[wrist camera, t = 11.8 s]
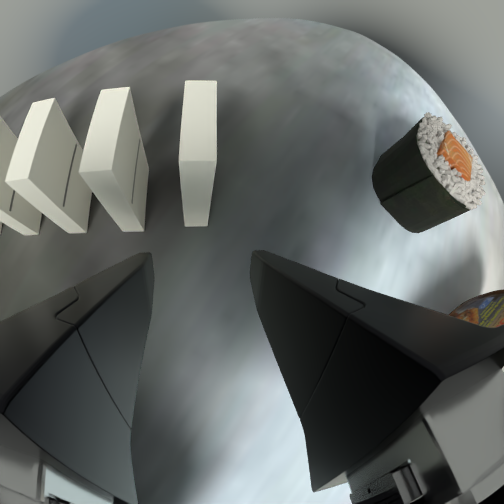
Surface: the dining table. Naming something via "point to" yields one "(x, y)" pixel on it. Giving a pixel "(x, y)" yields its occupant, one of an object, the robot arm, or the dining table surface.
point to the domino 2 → (51, 168)
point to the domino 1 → (6, 198)
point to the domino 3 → (117, 160)
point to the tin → (483, 310)
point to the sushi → (428, 176)
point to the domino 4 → (198, 150)
